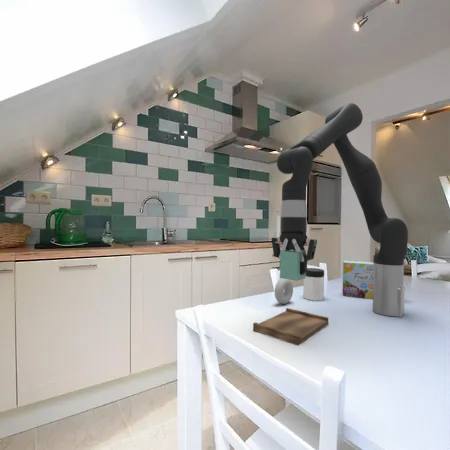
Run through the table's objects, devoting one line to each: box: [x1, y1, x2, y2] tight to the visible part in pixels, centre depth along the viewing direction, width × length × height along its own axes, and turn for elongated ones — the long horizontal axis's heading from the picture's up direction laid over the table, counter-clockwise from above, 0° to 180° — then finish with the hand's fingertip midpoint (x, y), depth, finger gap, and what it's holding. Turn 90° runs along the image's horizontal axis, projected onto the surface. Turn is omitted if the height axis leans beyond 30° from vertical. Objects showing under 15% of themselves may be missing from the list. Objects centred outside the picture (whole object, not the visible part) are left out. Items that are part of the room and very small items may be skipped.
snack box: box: [341, 260, 373, 300], centre depth 116 cm, size 21×6×15 cm, turn 68°
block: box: [279, 250, 306, 281], centre depth 80 cm, size 6×6×8 cm
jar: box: [302, 267, 325, 302], centre depth 113 cm, size 9×8×12 cm
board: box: [252, 307, 329, 346], centre depth 80 cm, size 14×20×2 cm
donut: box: [274, 278, 294, 305], centre depth 105 cm, size 10×4×10 cm, turn 135°
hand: (292, 272), depth 81 cm, fingers closed on block, 5 cm apart
